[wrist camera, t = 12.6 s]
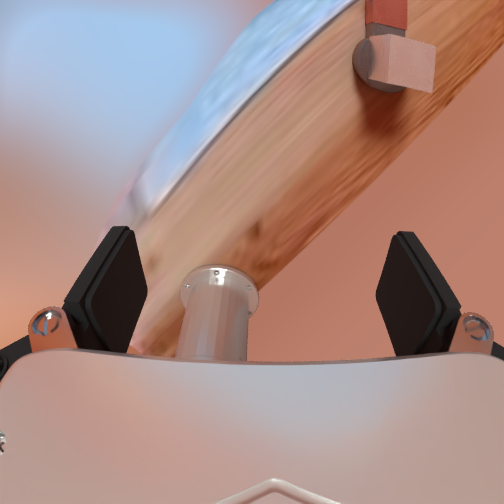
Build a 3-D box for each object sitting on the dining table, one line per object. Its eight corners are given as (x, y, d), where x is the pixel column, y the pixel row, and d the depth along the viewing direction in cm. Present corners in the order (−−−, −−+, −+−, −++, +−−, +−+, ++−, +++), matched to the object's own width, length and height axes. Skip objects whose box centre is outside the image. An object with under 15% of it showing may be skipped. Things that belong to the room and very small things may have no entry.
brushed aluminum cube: (406, 85, 28) (431, 93, 24) (367, 78, 29) (387, 83, 24) (410, 45, 26) (436, 46, 21) (369, 36, 26) (390, 33, 21)
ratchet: (354, -20, 24) (371, -33, 18) (408, -7, 24) (432, -14, 18) (350, 85, 32) (367, 91, 26) (403, 94, 32) (427, 102, 26)
